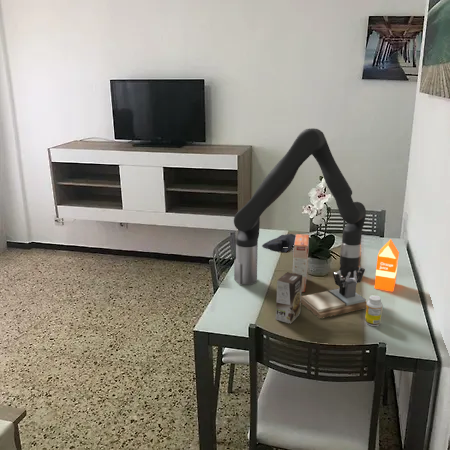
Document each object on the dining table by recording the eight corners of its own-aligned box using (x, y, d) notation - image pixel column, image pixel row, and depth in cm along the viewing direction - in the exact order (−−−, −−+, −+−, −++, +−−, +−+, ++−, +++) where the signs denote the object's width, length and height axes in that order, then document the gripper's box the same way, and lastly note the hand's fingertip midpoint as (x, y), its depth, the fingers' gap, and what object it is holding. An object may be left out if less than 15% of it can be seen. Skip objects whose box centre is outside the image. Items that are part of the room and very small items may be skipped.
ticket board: (320, 318, 175) (320, 312, 175) (297, 300, 189) (298, 294, 189) (368, 307, 183) (368, 301, 183) (343, 290, 197) (343, 284, 197)
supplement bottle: (368, 317, 176) (371, 292, 173) (383, 322, 173) (385, 297, 170) (362, 323, 172) (364, 298, 169) (376, 328, 169) (379, 302, 165)
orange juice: (395, 283, 204) (400, 239, 198) (393, 291, 196) (398, 246, 190) (376, 280, 207) (381, 237, 201) (373, 288, 199) (378, 243, 193)
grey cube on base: (347, 305, 181) (348, 289, 179) (329, 292, 192) (330, 276, 190) (365, 301, 185) (367, 285, 182) (346, 288, 195) (348, 273, 193)
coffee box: (291, 324, 172) (292, 284, 167) (275, 319, 175) (276, 280, 170) (301, 313, 179) (303, 274, 174) (285, 309, 182) (287, 271, 177)
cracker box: (305, 292, 196) (308, 245, 189) (291, 291, 197) (293, 244, 190) (307, 278, 209) (309, 234, 202) (293, 277, 210) (295, 233, 203)
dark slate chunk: (304, 241, 255) (305, 233, 253) (285, 254, 238) (285, 245, 236) (279, 236, 263) (280, 228, 261) (259, 248, 246) (259, 239, 244)
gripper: (359, 247, 188) (356, 286, 194) (329, 252, 183) (326, 292, 189) (371, 254, 182) (367, 294, 187) (340, 259, 177) (337, 301, 182)
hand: (347, 293), depth 188 cm, fingers closed on grey cube on base, 4 cm apart
